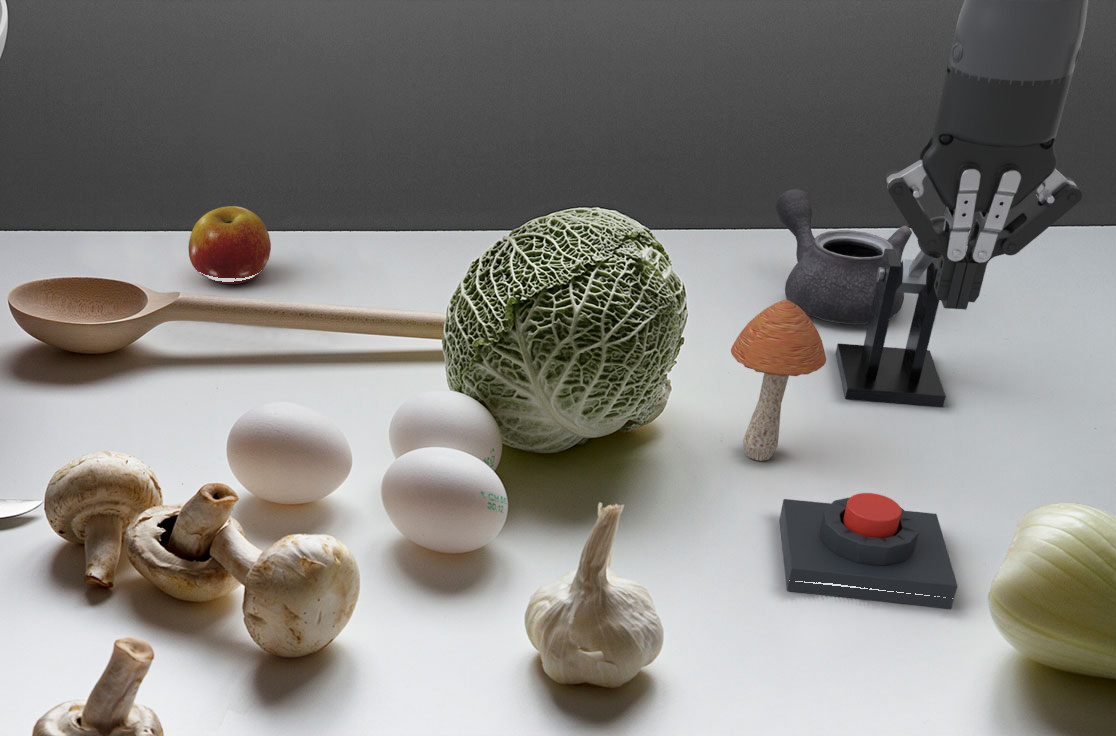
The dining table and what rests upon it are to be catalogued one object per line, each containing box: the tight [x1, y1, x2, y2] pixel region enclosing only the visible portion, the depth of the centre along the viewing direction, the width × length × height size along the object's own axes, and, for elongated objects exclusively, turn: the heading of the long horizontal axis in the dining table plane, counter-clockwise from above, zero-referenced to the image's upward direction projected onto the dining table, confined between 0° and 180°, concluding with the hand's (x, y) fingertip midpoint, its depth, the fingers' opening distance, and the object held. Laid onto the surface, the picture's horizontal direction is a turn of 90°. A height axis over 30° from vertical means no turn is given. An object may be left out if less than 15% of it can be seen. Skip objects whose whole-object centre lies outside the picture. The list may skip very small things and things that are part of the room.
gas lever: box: [896, 216, 945, 295], centre depth 118 cm, size 13×4×4 cm
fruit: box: [188, 205, 272, 285], centre depth 150 cm, size 10×9×8 cm
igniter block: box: [778, 496, 958, 610], centre depth 102 cm, size 12×10×4 cm
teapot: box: [775, 188, 913, 325], centre depth 143 cm, size 19×15×10 cm
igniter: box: [843, 492, 902, 538], centre depth 100 cm, size 4×4×2 cm
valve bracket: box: [835, 249, 947, 408], centre depth 125 cm, size 10×9×13 cm
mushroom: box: [730, 298, 827, 462], centre depth 113 cm, size 8×8×15 cm
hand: (952, 304), depth 94 cm, fingers closed
